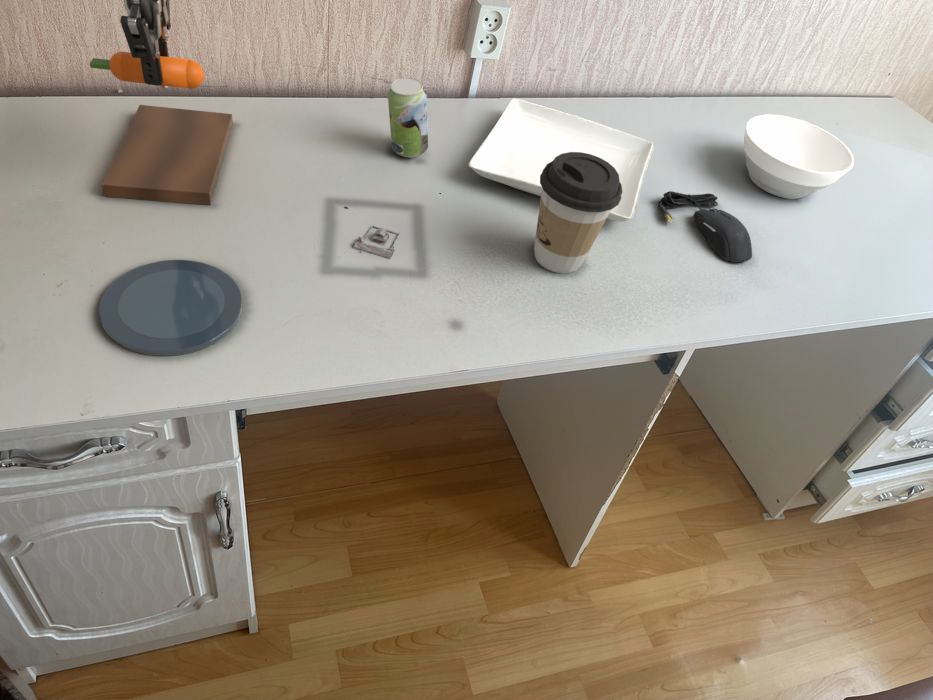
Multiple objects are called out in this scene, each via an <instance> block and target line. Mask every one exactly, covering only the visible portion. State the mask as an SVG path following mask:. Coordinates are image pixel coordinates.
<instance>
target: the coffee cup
mask: <svg viewBox="0 0 933 700" xmlns="http://www.w3.org/2000/svg"><path fill="white" fill-rule="evenodd" d="M540 184H541V186H542V193H541V197H540V201H539V207H538V208H539V209H538V216H537V223H536V229H535V230H536V231H535V238H534V245H533V252H534V258H535V260H536V262H537V263H538V264H539V265H540V266H541V267H542V268H543V269H545V270H547V271H550V272H552V273H555V274H570V273H574V272H576V271H577V270H578V269H579V268H580V266H582V265H583V263H584V261H585V260H586V257H587V256H588V254H589V252H590V250H591V249H592V246H593V245H594V243H595V242H596V239H597V237H598V235H599V234H600V232H601V230H602V229H603V226H604V224H605V223H606V220H607V219H608V218H607V217H608V215H609V213H610V211H611V210H612V209H613V208H614V207H616V206H617V205H618V204H619V202H620V200H621V195H622V185H621V183H620V180H619V174H618V173H617V171H616V169H615V168H614V167H613V166H612V165H610V164H609V163H608V162H606V161H605V160H603V159H601V158H599V157H597V156H594V155H591V154H587V153H582V152H568V153H563V154H560V155H558V156H557V157H555V159H554V160H553V161H552V162H550V163H548V164H547V165H546V166H545V168H544V169H543V171H542V174H541V175H540Z"/></svg>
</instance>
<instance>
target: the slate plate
mask: <svg viewBox="0 0 933 700" xmlns="http://www.w3.org/2000/svg"><path fill="white" fill-rule="evenodd" d="M242 312H243V296H242V293H241V289H240V288H239V286H238V284H237V282H236V281H234V279H233V278H232V277H231V276H230V275H229V274H227V273H226V272H225V271H224V270H221V269H219V268H218V267H216V266H213V265H210V264H208V263H204V262H201V261H196V260H188V259H187V260H186V259H168V260H159V261H154V262H149V263H147V264H146V263H145V264H143V265H141V266H138V267H135V268H133V269H131V270H129V271H126V272H125V273H124V274H122V275H120V276H119V277H118V278H116V279H115V280H114V281H112V283H110V285H109V286H107V289H105V291H104V292H103V294H102V296H101V299H100V302H99V308H98V315H99V319H100V322H101V325H102V328H103V331H104V332H105V333H106V335H108V336H109V338H110V339H112V341H114V342H115V343H116V344H118V345H119V346H121V347H123V348H125V349H127V350H130V351H132V352H135V353H138V354H143V355H148V356H155V357H157V356H158V357H173V356H181V355H186V354H190V353H195V352H198V351H201V350H203V349H207V348H208V347H210V346H212V345H214V344H216V343H218V342H219V341H221V340H222V339H223V338H225V337H226V336H227V335H229V334H230V332H231V331H232V330H234V329H235V327H236V326H237V324H238V322H239V321H240V318H241V315H242Z"/></svg>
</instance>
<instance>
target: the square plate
mask: <svg viewBox="0 0 933 700" xmlns="http://www.w3.org/2000/svg"><path fill="white" fill-rule="evenodd" d="M654 149H655V143H654V142H653V141H650V140H648V139H645V138H642V137H639V136H636V135H633V134H630V133H628V132H624V131H622V130H620V129H616V128H613V127H610V126H607V125H604V124H601V123H599V122H596V121H592V120H590V119H586V118H583V117H580V116H578V115H575V114H572V113H567V112H564V111H561V110H557V109H555V108H551V107H547V106H544V105H540V104H537V103H533V102H530V101H526V100H523V99H521V98H520V99H519V98H512V99H511V100H510V101H509V102H508V103H507V105H506V107H505V108H504V110H503V112H502V114H501V116H500V117H499V118H498V119H497V121H496V122H495V124H494V126H493V128H492V129H491V130H490V131H489V134H488V135H486V138H485V139H484V140H483V142H482V143H481V144H480V146H479V147H478V149H477V150H476V152H475V153H474V155H473V156H472V157H471V159H470V161H469V162H468V168H470V169H472V171H474V172H475V173H476V174H478V175H479V176H481V177H483V178H484V179H485V178H486V179H488V180H491V181H493V182H496V183H500V184H503V185H506V186H508V187H510V188H513V189H516V190H518V191H523V192H525V193H529V194H532V195H534V196H538V197H540V198H541V193H542V186H541V184H540V175H541V174H542V171H543V169H544V168H545V166H546V165H547V164H548V163H550V162H552V161H553V160H554V159H555V157H557V156H558V155H560V154H563V153H568V152H582V153H587V154H591V155H594V156H597V157H599V158H601V159H603V160H605V161H606V162H608V163H609V164H610V165H612V166H613V167H614V168H615V169H616V171H617V173H618V174H619V180H620V183H621V185H622V195H621V200H620V202H619V204H618V205H617V206H616V207H614V208H613V209H612V210H611V211H610V213H609V215H608V217H607V219H608V220H611V221H614V222H615V221H616V222H626V221H629V220H630V221H631V220H632V219H633V218H634V217H635V214H636V210H637V206H638V201H639V198H640V194H641V191H642V186H643V183H644V179H645V175H646V173H647V169H648V167H649V164H650V162H651V158H652V156H653V153H654Z"/></svg>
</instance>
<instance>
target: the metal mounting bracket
mask: <svg viewBox="0 0 933 700" xmlns="http://www.w3.org/2000/svg"><path fill="white" fill-rule="evenodd" d="M372 229H376V231H375V232H374V234H373V236H372V237H371V243H376V244H380V245H382V246H385V245H386V243H387V242H388V241H389V238H390V234H393V235H396V238H395V239H394V241H393V243H392V245H390V246H389V248H388V249H385V248H382V247H379V246H375V245H372V244H370V243H369V244H368V243H365V240H366V238H367V237H368V235H369V234H370V232H371V231H372ZM399 237H400V232H399V233H398V232H396V231H392V230H389V229H387V228H382V227H379V226H376V225H371V226H370V228H369V230H368V231H367V233H366V234H365V236H364V237H362V236H358V238H357V240H356V241H355V242H354V244H353V249H355V250H358V251H359V253H360V254H362V252H365V253H368V254H369V256H370V255H371V254H372V255H375V256H378V257H381V258H386V259H388V260H391V258H392V257H393V255H394V254H395V251H396V246H395V244H396V243H397V240H398V238H399Z"/></svg>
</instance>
